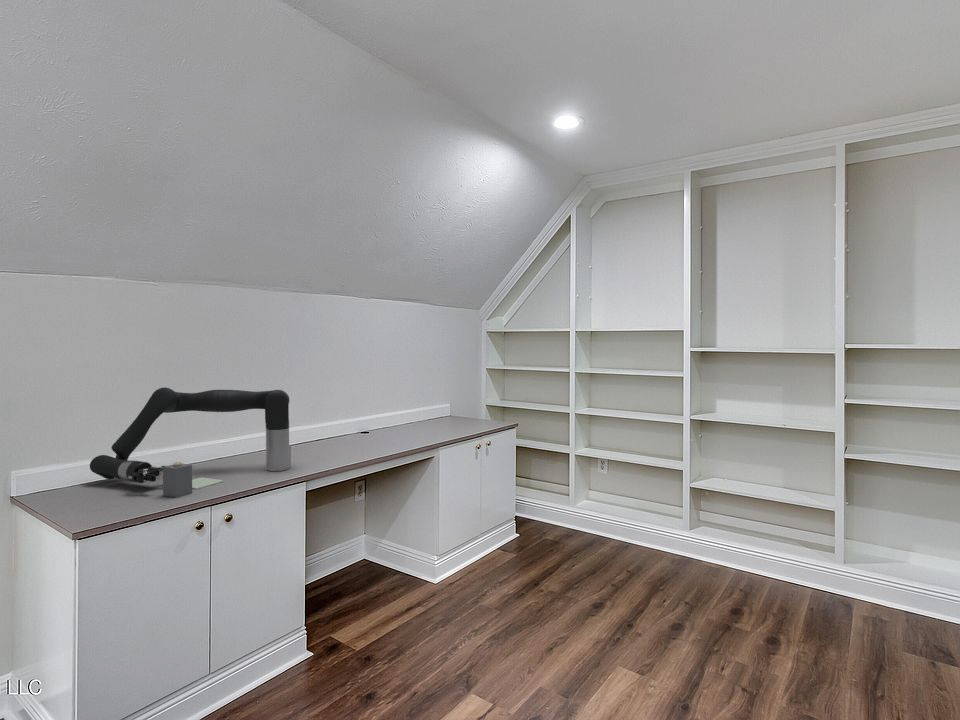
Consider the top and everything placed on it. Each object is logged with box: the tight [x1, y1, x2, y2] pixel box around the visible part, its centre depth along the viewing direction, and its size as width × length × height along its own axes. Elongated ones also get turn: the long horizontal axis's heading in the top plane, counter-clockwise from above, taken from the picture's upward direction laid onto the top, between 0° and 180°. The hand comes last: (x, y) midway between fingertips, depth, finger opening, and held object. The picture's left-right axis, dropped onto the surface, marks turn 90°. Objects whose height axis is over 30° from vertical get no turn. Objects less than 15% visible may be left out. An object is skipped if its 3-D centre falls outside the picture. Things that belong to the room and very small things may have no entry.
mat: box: [192, 477, 225, 490], centre depth 208 cm, size 12×12×1 cm
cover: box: [162, 461, 193, 498], centre depth 194 cm, size 6×6×11 cm
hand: (166, 475), depth 196 cm, fingers open, 8 cm apart
